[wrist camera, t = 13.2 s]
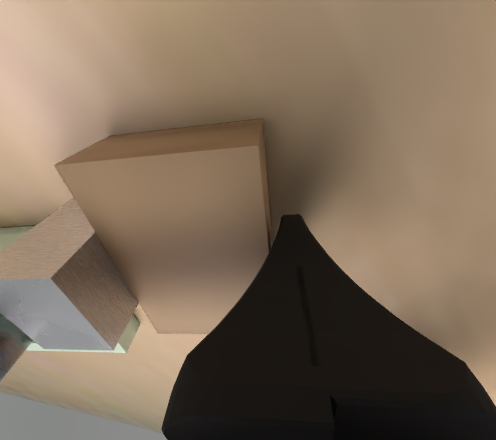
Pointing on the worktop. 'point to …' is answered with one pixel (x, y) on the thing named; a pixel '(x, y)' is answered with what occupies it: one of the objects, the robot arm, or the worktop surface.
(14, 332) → the steel pin
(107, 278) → the block
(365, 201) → the worktop surface
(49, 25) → the worktop surface
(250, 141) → the brown rectangular block
